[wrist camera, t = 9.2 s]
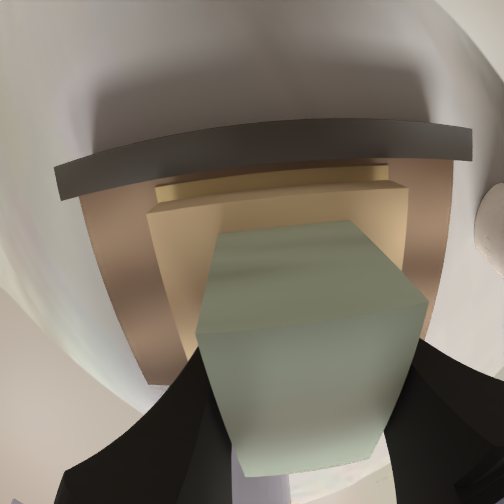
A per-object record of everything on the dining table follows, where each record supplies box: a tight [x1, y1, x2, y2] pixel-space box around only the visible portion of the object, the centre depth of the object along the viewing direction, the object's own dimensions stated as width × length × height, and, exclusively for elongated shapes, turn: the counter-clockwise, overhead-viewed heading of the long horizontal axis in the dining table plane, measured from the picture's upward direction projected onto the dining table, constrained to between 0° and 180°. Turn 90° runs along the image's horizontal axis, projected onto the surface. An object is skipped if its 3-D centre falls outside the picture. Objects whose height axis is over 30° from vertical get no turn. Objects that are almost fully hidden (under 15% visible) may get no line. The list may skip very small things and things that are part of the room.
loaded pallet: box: [146, 180, 429, 477], centre depth 9 cm, size 9×9×6 cm
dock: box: [54, 118, 472, 385], centre depth 14 cm, size 14×18×4 cm
